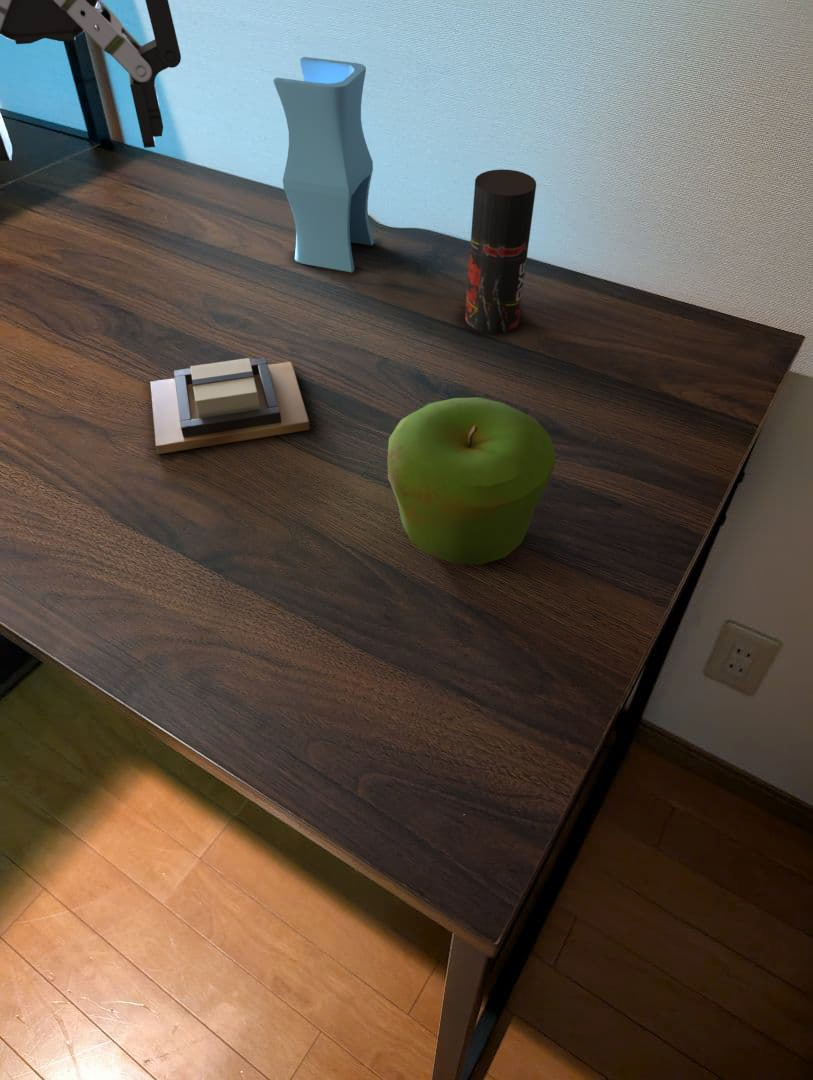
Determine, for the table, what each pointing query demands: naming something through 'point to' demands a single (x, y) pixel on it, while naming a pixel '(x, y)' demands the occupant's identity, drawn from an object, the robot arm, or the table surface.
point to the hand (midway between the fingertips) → (78, 149)
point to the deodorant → (499, 249)
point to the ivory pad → (224, 388)
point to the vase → (327, 161)
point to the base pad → (187, 431)
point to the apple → (468, 477)
